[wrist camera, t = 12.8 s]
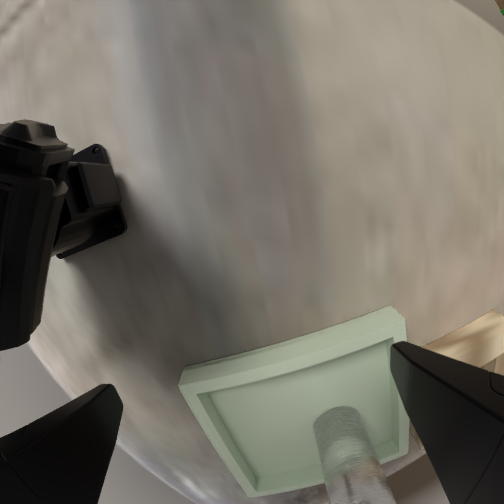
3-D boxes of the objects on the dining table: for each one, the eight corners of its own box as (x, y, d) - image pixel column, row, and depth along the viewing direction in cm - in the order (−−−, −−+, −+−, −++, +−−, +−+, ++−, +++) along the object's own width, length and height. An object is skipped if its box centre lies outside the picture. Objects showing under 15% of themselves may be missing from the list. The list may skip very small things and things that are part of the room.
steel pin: (318, 444, 23) (343, 565, 10) (308, 415, 22) (336, 551, 9) (362, 430, 23) (406, 545, 10) (357, 399, 22) (410, 527, 9)
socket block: (408, 428, 24) (421, 450, 20) (406, 353, 22) (425, 376, 18) (484, 387, 23) (501, 404, 20) (493, 309, 21) (516, 324, 17)
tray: (249, 479, 25) (249, 497, 22) (184, 366, 22) (177, 385, 19) (399, 437, 24) (408, 453, 21) (390, 305, 21) (404, 319, 18)
